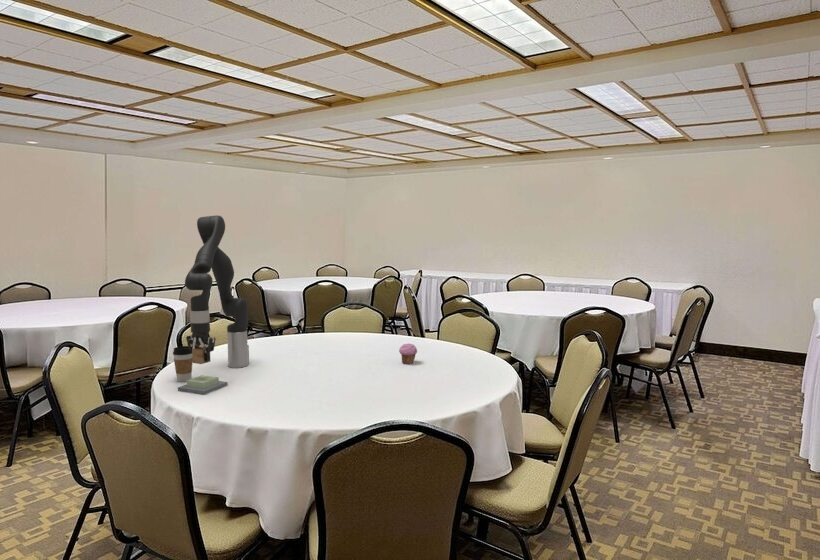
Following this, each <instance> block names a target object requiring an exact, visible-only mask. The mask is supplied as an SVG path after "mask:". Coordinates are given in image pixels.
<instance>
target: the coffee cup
mask: <svg viewBox="0 0 820 560" xmlns="http://www.w3.org/2000/svg"><path fill="white" fill-rule="evenodd" d="M172 355H173V361H174V369H175V376H176V382H178V383H187V380H190V379H192V378H193V376H192V373H193V362H192V350H189V348H188V345H183V346H177V347H174V348H173V351H172Z"/></svg>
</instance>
